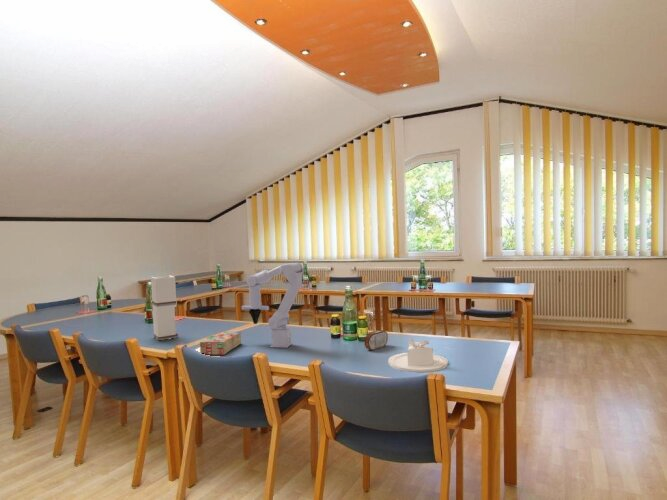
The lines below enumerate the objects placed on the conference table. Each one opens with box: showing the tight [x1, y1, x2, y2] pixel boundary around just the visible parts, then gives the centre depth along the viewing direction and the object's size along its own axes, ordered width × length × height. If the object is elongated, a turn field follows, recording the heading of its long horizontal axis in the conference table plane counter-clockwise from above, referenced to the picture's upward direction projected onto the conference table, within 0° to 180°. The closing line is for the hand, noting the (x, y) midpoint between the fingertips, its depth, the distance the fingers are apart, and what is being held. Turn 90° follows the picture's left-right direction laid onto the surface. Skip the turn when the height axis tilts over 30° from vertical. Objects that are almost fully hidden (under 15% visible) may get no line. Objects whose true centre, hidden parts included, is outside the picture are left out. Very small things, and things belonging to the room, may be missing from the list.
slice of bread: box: [364, 329, 389, 351], centre depth 207 cm, size 15×3×8 cm, turn 134°
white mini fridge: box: [150, 275, 179, 341], centre depth 245 cm, size 11×11×35 cm
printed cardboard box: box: [199, 331, 242, 356], centre depth 215 cm, size 21×6×12 cm
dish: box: [388, 338, 449, 373], centre depth 182 cm, size 25×25×11 cm
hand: (255, 323), depth 225 cm, fingers closed
